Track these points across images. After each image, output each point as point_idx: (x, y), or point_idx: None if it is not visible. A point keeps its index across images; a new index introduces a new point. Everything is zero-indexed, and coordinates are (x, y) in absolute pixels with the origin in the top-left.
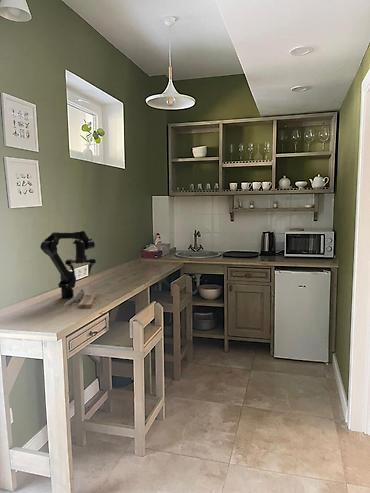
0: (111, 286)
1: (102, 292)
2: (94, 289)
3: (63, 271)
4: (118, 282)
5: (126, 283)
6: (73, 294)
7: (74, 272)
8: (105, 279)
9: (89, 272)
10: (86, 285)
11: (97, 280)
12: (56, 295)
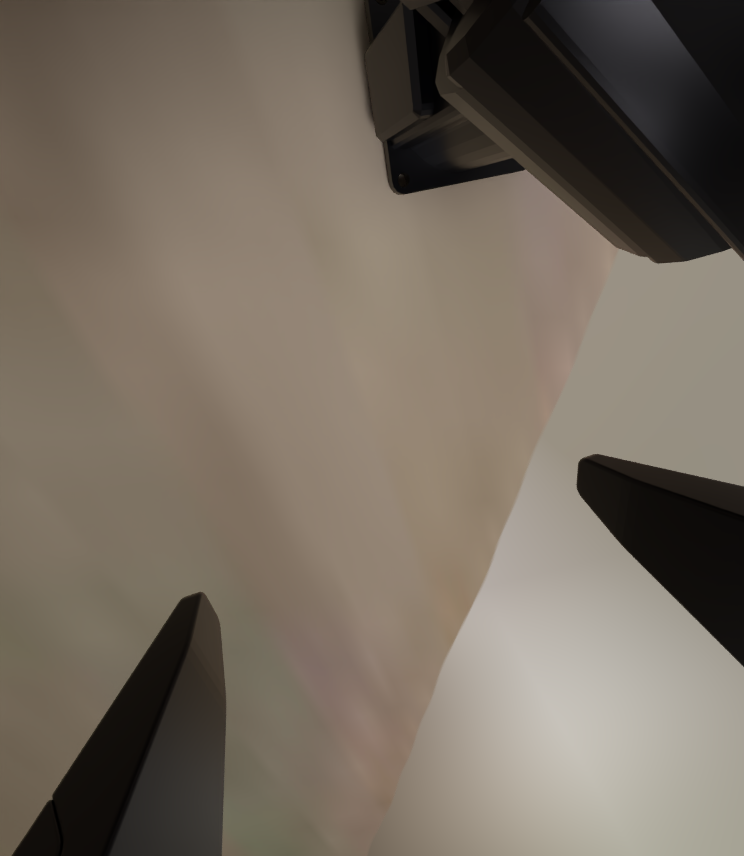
0: None
1: (26, 431)
2: (252, 567)
3: None
4: None
5: (4, 837)
6: (376, 76)
7: (636, 518)
8: (315, 844)
9: (156, 649)
10: (402, 676)
11: (367, 806)
12: (602, 259)
